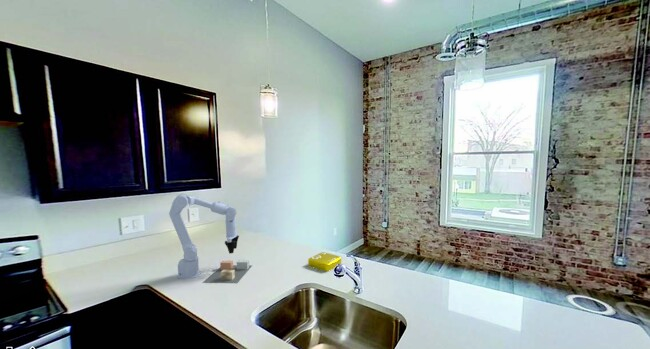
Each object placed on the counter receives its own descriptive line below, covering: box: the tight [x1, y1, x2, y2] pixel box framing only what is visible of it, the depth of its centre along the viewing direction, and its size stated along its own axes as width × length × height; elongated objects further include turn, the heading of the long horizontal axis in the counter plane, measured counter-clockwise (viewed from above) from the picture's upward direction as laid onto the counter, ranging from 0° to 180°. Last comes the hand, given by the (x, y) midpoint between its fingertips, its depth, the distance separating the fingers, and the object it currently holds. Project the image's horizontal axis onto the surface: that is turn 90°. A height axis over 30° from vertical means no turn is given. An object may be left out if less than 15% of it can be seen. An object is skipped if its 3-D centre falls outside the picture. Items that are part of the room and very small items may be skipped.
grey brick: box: [236, 259, 250, 269], centre depth 146 cm, size 6×3×4 cm, turn 86°
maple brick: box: [221, 270, 235, 280], centre depth 133 cm, size 6×3×4 cm, turn 86°
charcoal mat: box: [202, 264, 253, 284], centre depth 139 cm, size 18×22×1 cm
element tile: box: [307, 251, 342, 272], centre depth 151 cm, size 15×15×5 cm
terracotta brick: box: [219, 260, 234, 270], centre depth 145 cm, size 6×3×4 cm, turn 86°
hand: (233, 250), depth 148 cm, fingers open, 7 cm apart
